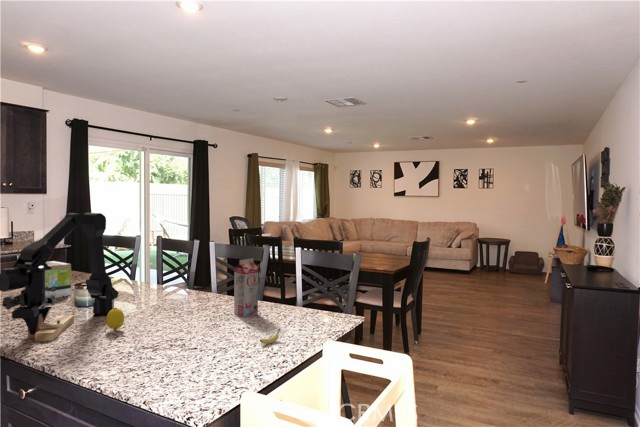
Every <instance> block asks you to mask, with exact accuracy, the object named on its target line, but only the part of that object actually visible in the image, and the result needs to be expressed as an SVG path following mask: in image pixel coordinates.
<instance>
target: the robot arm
mask: <svg viewBox="0 0 640 427" xmlns="http://www.w3.org/2000/svg"><path fill="white" fill-rule="evenodd" d="M78 225H80V226H81V230H82V232H83V233H84V234H85V236H86V238H87V245H88V254H89V266H90V276H89V278H87V279H85V284H86V288H85V289H86V290H87V293H88V294H89V295H90V299H94V302H93V303H92V314H93V316H92V317H100V316H101V317H105V316H106V317H107V315H108V313H109V311H110V310H112V309H114V308H115V300H116V299H118V297H119V292H118V291H117V290H116V288H115V287H114V286H113V282H112V279H111V277H110V276H109V274H108V273H107V271H106V260H105V251H104V242H103V239H104V238H103V235H104V233H105V230H106V229H107V218H106V216H105V215H104V214H103V213H101V212H100V213H99V212H85V213H78V212H77V213H76V212H75V213H74V212H69V213H67V214H65V215H64V217H63V218H62V219H61V220H60V221H59V222H58V223H56V225H55V226H54V227H52V228H51V229H50V230H49V231H48V232H47V233H46V234H45V235H44V236H43V237H42V238H40V239H38V240H36V241H34V242H31V243H30V244H28V245H27V246H24V247H23V248H22V249H21V251H20V253H19V256H18V258H17V259H16V261H15V262H14V264H13V265H12V266H11V267H10V268H1V271H0V272H1V273H0V291H1V292H2V293H3V292H4V293H5V292H9V291H10V292H11V291H15V290H19V289H21V291H20V293H19V294H16V295H14V296H13V295H8V296H5V297H3V300H2V301H1V302H2V304H1V306H2V307H4V308H5V309H6V310H7V311H8V310H11V309H12V308H15V307H17V308H15V309H14V310H12V311H11V319H12V320H16V319H17V320H19V319H20V320H24V322H25V325H26V327H27V331H28V330H29V332H30V334H31V335H34V334H35V332H36V330H37V327H38V324H39V321H40V318H41V316H43V323H45V321H46V319H47V317H48V315H49V313H50V311H51V310H52V308H53V307H52V306H54V305H56V303H57V298H55V297H54V296H53V295H52V296H46V295H45V291H46V290H48V286H47V287H45V270H51V269H52V268H51V267H50V266H48V265H47V264H46V262H49V260H50V258H51V257H52V255H53V254H54V250H55V248H56V247H57V246H58V245H59V244H60V243H61V242H62V241H63V240H64V239H65V238H66V237H67V236H68V235H69V234H70V233H71V232H72V231H74V230H75V228H76V227H77V226H78ZM47 304H50V306H48V305H47ZM18 306H19V307H18Z"/></svg>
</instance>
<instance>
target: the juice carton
mask: <svg viewBox="0 0 640 427" xmlns="http://www.w3.org/2000/svg"><path fill="white" fill-rule="evenodd" d="M254 261H255V260H254V258H246V259H239V263H238V264H237V265H236V266H234V272H233V273H234V282H233V283H234V285H233V286H234V289H233V290H234V291H233V292H234V293H233V295H234V296H233V300H234V301H233V315H236V316H239V317H241V318H248V317H253V316H256V315H259V266H257V264H256V263H255V262H254Z"/></svg>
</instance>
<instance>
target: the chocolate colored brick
mask: <svg viewBox="0 0 640 427" xmlns="http://www.w3.org/2000/svg"><path fill="white" fill-rule="evenodd" d="M61 326H62V322H60V320H57V323H50V322H44V323H43V316H41V318H40V321H39V324H38V327H37V330H36V332H38V331H39V330H40V329H44V328H60V327H61ZM36 332H35V333H36ZM27 339H35V334H34V335H31V334H30V332H29V330H28V329H27Z"/></svg>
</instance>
